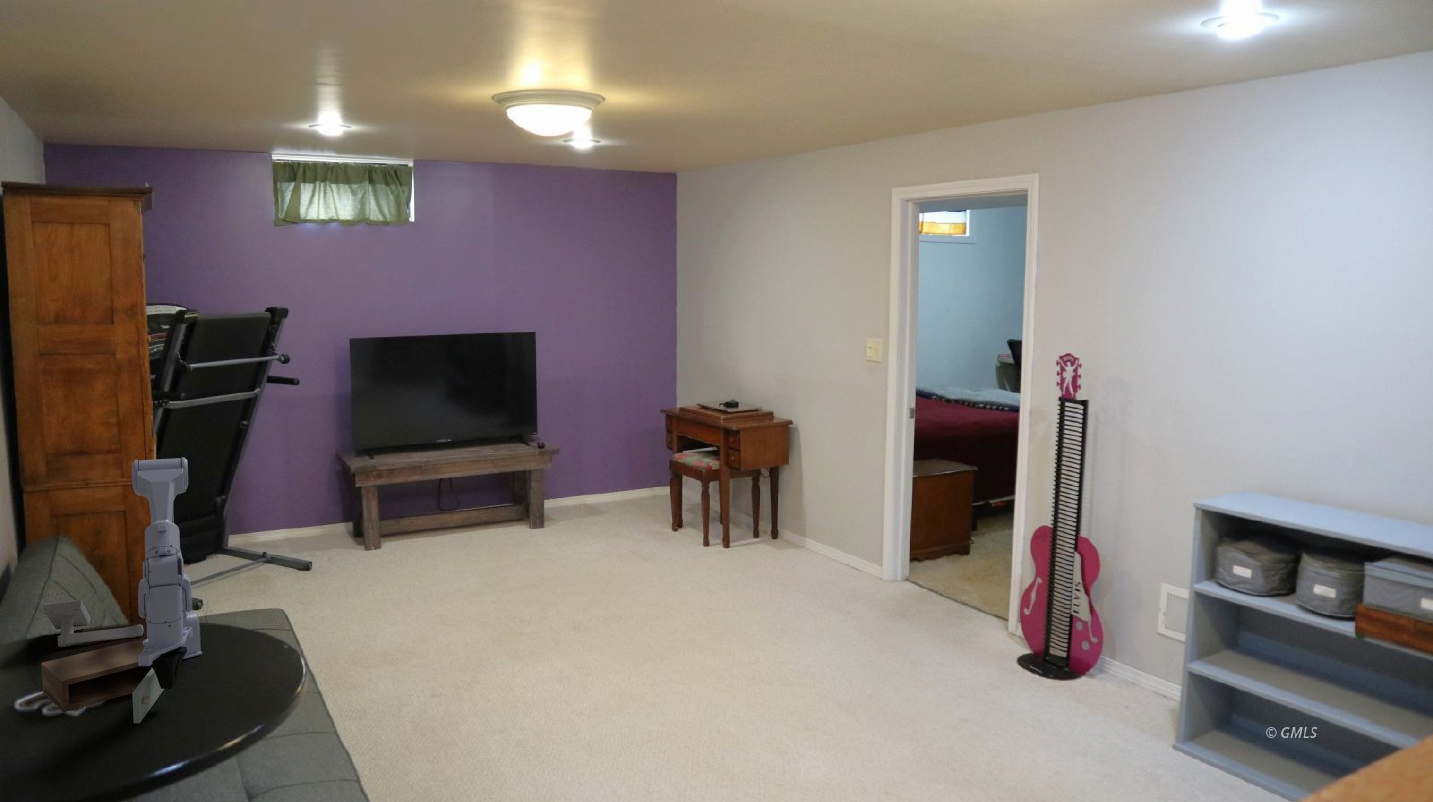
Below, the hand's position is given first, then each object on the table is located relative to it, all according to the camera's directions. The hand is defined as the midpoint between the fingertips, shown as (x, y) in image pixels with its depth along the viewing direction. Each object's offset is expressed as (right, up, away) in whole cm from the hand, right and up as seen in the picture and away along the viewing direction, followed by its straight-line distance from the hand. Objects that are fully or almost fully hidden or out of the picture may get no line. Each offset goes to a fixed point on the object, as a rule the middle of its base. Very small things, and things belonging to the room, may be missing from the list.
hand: (167, 687), depth 182 cm
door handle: (-35, +1, +33) cm, 48 cm away
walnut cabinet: (-16, -2, +6) cm, 17 cm away
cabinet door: (-3, -3, +1) cm, 4 cm away
